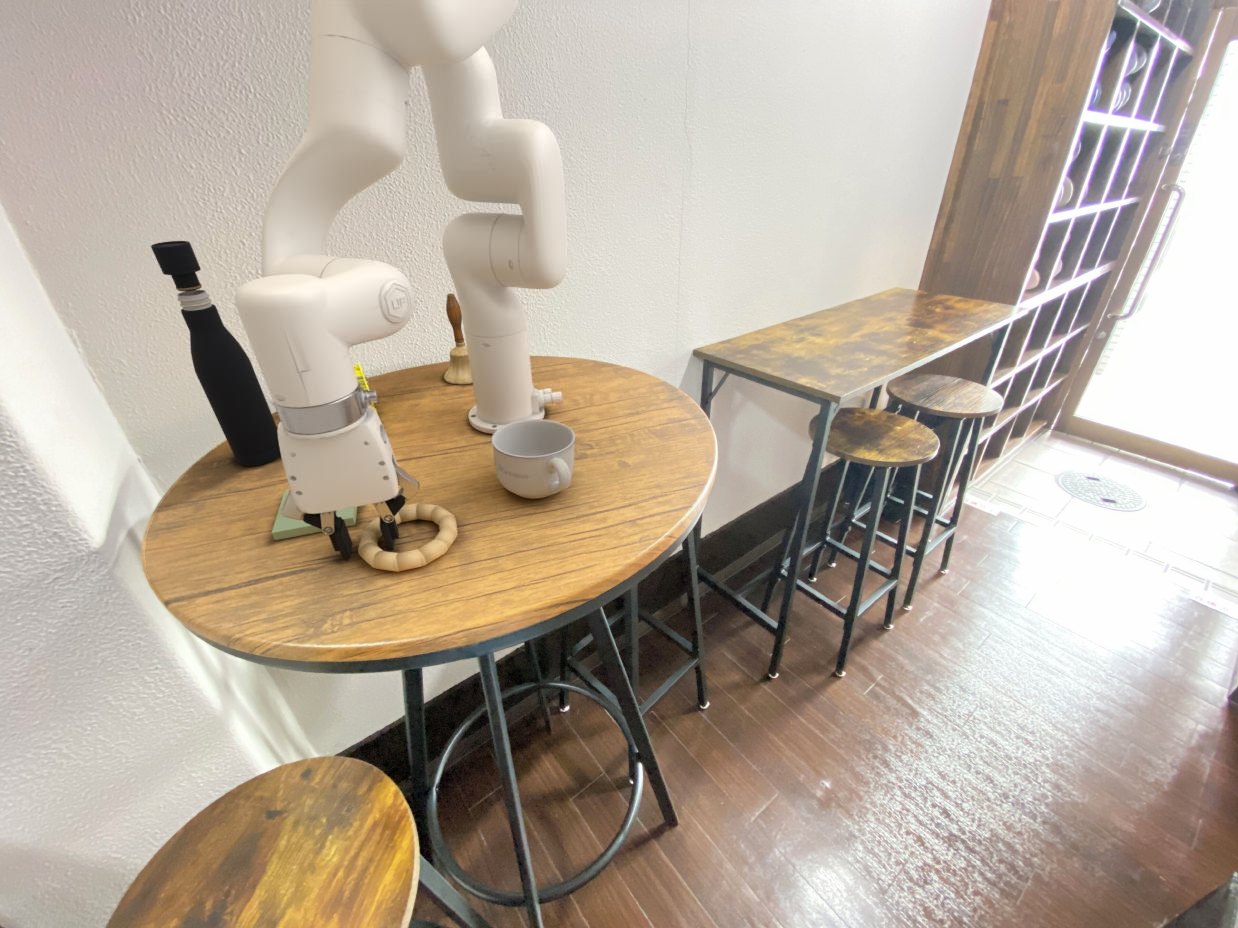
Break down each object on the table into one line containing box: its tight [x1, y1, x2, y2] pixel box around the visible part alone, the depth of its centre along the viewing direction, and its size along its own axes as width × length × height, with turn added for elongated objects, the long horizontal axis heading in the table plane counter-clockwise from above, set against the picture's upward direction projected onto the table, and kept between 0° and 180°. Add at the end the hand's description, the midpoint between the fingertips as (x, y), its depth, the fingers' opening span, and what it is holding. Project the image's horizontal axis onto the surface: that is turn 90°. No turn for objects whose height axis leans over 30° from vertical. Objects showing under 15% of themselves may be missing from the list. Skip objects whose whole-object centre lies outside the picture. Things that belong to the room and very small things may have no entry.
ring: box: [357, 502, 458, 572], centre depth 63 cm, size 11×11×2 cm
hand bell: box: [443, 293, 473, 386], centre depth 101 cm, size 8×8×16 cm
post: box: [271, 489, 358, 541], centre depth 67 cm, size 9×9×8 cm
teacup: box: [490, 418, 576, 500], centre depth 70 cm, size 14×11×8 cm
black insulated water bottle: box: [150, 240, 282, 467], centre depth 72 cm, size 6×6×30 cm
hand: (369, 546), depth 62 cm, fingers open, 4 cm apart
